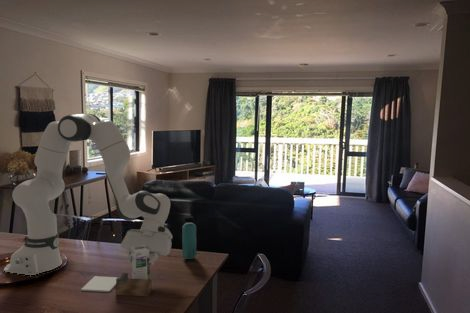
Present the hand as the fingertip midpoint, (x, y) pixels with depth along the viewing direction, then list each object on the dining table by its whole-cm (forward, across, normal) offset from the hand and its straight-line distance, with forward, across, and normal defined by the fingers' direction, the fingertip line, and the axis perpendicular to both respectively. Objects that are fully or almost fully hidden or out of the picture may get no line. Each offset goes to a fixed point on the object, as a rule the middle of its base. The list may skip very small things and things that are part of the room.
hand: (139, 263), depth 142 cm
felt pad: (+9, -14, +2) cm, 17 cm away
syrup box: (+6, 0, +6) cm, 9 cm away
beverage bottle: (-14, +10, +26) cm, 30 cm away
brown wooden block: (+11, +1, +1) cm, 11 cm away
